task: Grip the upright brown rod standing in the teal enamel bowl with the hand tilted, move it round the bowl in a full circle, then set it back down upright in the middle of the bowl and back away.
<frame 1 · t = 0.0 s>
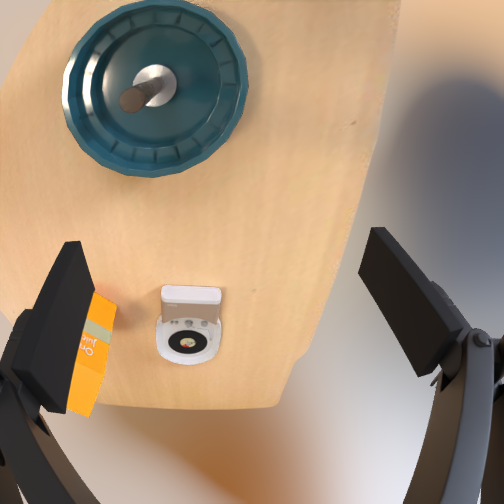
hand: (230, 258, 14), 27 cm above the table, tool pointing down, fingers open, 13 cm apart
orange juice: (86, 303, 48), on the table
bowl: (156, 84, 31), on the table
record player: (188, 326, 55), on the table
brown rod: (156, 84, 31), point 1 cm above the table, touching bowl
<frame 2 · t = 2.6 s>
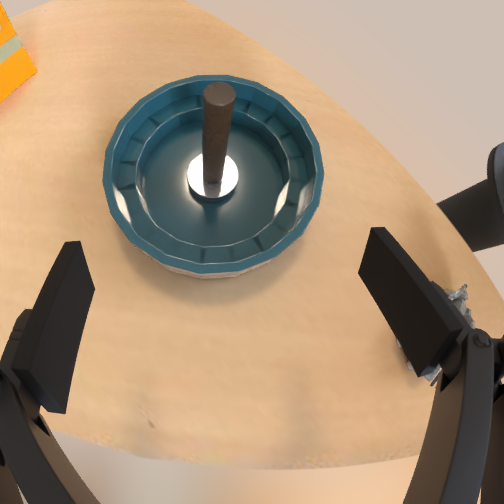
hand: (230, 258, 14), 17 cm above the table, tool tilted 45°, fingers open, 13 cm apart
egg carton: (429, 331, 32), on the table
orange juice: (9, 79, 30), on the table
bowl: (212, 181, 31), on the table
brown rod: (212, 179, 31), point 1 cm above the table, touching bowl
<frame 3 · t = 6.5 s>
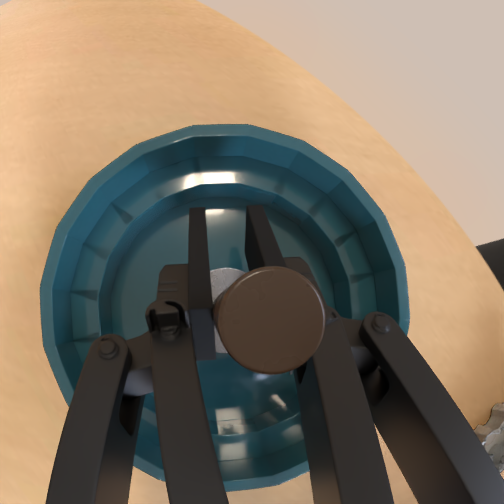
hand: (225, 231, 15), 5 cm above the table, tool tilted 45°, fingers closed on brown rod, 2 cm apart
egg carton: (478, 447, 21), on the table
bowl: (224, 310, 20), on the table
brown rod: (225, 310, 19), point 1 cm above the table, touching gripper
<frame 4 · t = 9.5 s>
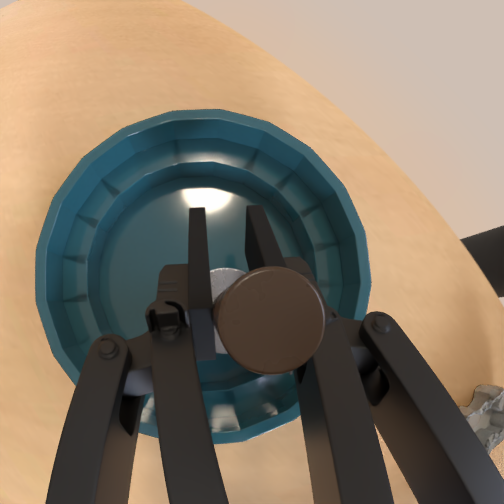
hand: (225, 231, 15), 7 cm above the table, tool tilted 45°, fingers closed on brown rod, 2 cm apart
egg carton: (462, 429, 23), on the table
bowl: (200, 277, 22), on the table
brown rod: (225, 310, 19), point 2 cm above the table, touching gripper
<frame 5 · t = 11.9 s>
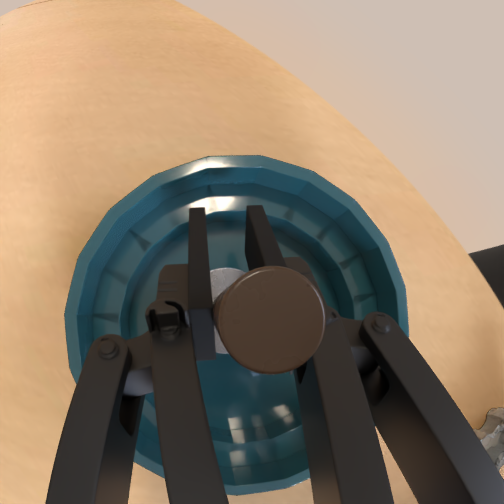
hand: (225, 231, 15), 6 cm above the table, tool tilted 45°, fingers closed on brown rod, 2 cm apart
egg carton: (474, 449, 22), on the table
bowl: (237, 328, 21), on the table
brown rod: (225, 310, 19), point 2 cm above the table, touching gripper
when the fingers open (5 cm above the table, at t = 12.9 s): brown rod stays where it is, resting on bowl.
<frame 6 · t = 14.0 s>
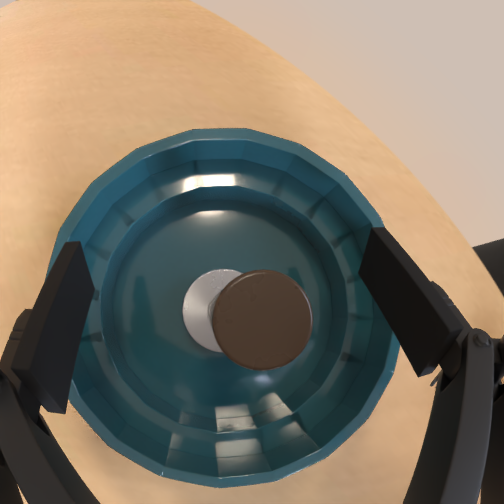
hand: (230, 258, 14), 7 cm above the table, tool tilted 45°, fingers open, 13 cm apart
bowl: (223, 310, 20), on the table
brown rod: (223, 310, 20), point 1 cm above the table, touching bowl
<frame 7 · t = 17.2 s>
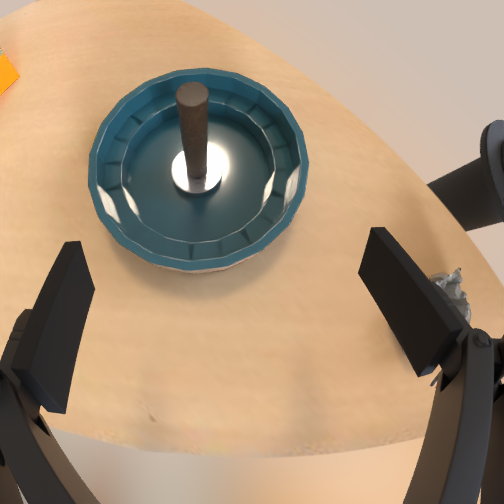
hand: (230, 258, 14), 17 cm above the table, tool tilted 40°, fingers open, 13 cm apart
egg carton: (424, 315, 33), on the table
bowl: (198, 176, 31), on the table
brown rod: (197, 174, 30), point 1 cm above the table, touching bowl
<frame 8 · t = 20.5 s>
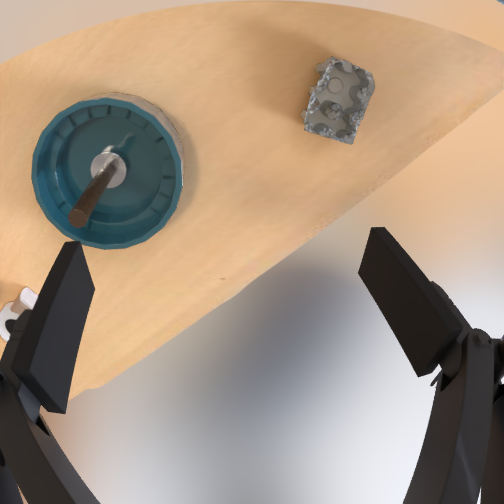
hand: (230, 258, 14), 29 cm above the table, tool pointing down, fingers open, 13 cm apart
egg carton: (331, 97, 37), on the table
bowl: (112, 164, 37), on the table
record player: (25, 321, 51), on the table
brown rod: (110, 166, 37), point 1 cm above the table, touching bowl
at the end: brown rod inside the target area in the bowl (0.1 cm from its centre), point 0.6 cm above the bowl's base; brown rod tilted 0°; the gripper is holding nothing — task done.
